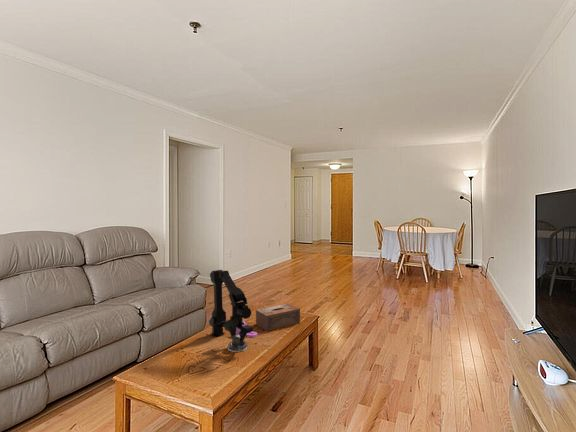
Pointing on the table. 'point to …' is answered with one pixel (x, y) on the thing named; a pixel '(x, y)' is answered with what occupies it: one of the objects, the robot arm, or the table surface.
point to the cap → (236, 340)
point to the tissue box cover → (277, 316)
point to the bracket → (251, 334)
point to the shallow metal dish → (237, 347)
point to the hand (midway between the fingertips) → (237, 341)
